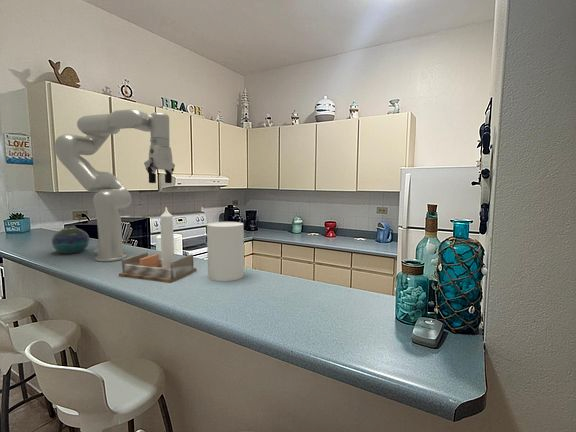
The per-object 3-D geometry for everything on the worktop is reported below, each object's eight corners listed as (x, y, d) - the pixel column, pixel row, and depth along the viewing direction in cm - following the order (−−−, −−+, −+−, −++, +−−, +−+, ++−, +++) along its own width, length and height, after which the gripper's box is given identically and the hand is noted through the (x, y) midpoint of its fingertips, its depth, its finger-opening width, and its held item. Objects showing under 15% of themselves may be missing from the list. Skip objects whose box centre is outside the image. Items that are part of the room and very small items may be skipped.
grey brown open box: (118, 276, 119) (118, 258, 118) (149, 265, 134) (148, 249, 134) (170, 282, 112) (169, 263, 112) (196, 270, 128) (195, 253, 127)
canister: (236, 282, 114) (235, 227, 111) (201, 279, 116) (200, 225, 114) (248, 271, 127) (248, 222, 124) (217, 269, 129) (216, 221, 127)
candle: (181, 269, 126) (179, 206, 123) (172, 274, 119) (170, 208, 116) (164, 268, 127) (161, 206, 124) (155, 273, 120) (152, 207, 117)
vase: (93, 252, 156) (91, 226, 155) (55, 257, 146) (53, 229, 144) (86, 247, 167) (84, 222, 166) (50, 252, 157) (48, 225, 155)
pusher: (139, 272, 120) (139, 259, 120) (156, 265, 129) (156, 253, 129) (142, 272, 120) (141, 259, 119) (159, 266, 129) (158, 254, 128)
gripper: (152, 140, 127) (152, 183, 129) (180, 145, 143) (180, 183, 145) (137, 140, 129) (138, 182, 131) (167, 145, 145) (167, 182, 147)
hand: (160, 183), depth 138 cm, fingers open, 9 cm apart
